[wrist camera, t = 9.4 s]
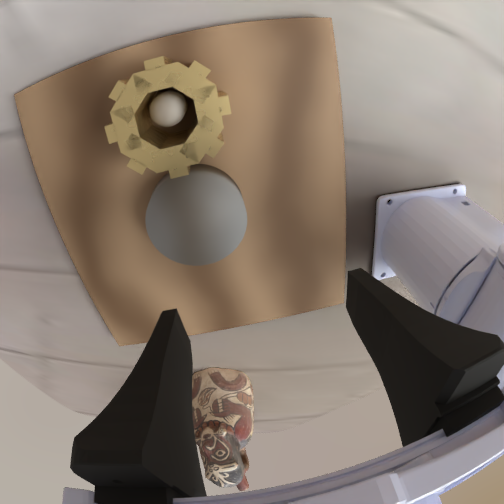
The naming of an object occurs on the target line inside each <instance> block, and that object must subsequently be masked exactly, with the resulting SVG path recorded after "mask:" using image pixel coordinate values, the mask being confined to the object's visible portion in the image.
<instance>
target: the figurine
mask: <svg viewBox="0 0 504 504" xmlns="http://www.w3.org/2000/svg"><path fill="white" fill-rule="evenodd" d="M192 414H193V424H194V432H195V439H196V444H197V445H198V446H199V449H200V454H201V458H202V460H203V464H204V468H205V476H206V478H207V479H209V480H210V481H212V482H213V483H214V484H216V485H218V486H220V487H223V488H224V487H232V486H237V488H238V489H239V490H240V491H245V490H247V489H248V488H249V484H248V482H247V479H246V476H245V472H246V471H247V470H248V468H249V461H248V457H247V455H246V450H245V446H246V445H247V444H248V442H249V441H250V438H251V436H252V433H253V425H254V404H253V389H252V385H251V382H250V380H249V378H248V376H247V375H246V374H245V373H243V372H241V371H236V370H233V369H221V368H216V367H210V368H207V369H205V370H202V371H198V372H196V373H194V375H193V376H192Z"/></svg>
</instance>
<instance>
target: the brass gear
mask: <svg viewBox="0 0 504 504" xmlns="http://www.w3.org/2000/svg"><path fill="white" fill-rule="evenodd" d="M144 66H145V70H144V71H141V72H137V73H134V74H133V75H132V76H131V78H130V79H126V80H118V82H117V83H116V85H115V87H114V88H113V90H112V92H111V94H110V95H109V98H111V99H113V100H115V101H116V103H115V104H114V106H113V108H112V110H111V111H110V114H111V118H112V122H111V123H109V124H108V125H106V126H104V127H105V131H106V135H107V138H108V142H109V144H111V143H114V142H117V141H118V145H119V148H120V152H121V153H122V154H124V155H126V156H127V157H129V158H131V159H130V161H129V163H128V164H127V167H129V168H131V169H132V170H134V171H136V172H138V173H140V174H141V175H142V174H143V173H144V171H145V169H146V168H149V169H150V170H152V171H154V172H156V173H160V172H164V171H168V170H169V174H170V178H171V179H172V178H177V177H181V176H185V175H189V169H190V165H194V164H199V162H200V161H201V159H202V158H203V157H204V155H205V154H207V155H209V156H211V157H212V158H214V157H215V156H216V154H217V153H218V151H219V150H220V149H221V147H222V146H223V144H224V139H223V136H222V133H221V131H222V130H223V128H224V126H223V120H222V116H223V115H229V114H231V109H230V103H229V97H228V95H227V94H226V93H225V92H224V91H221V92H217V87H216V84H214V83H213V82H211V81H210V80H208V79H207V78H206V77H207V75H208V74H209V73H210V71H211V70H210V69H208V68H206V67H205V66H203V65H202V64H200V63H198V62H197V61H195V60H194V62H193V63H192V64H191V66H190V67H189V68H188V67H187V66H185V65H184V64H182V63H180V62H175V63H172V60H171V59H169V58H167V57H164V56H161V57H157V58H153V59H150V60H146V61H144ZM169 87H174V88H175V89H177V90H179V91H180V92H182V93H184V94H185V95H187V96H189V97H190V98H192V99H194V104H195V109H196V114H197V117H196V119H195V120H194V122H193V123H192V125H191V126H190V128H189V129H187V130H183V131H179V132H174V133H170V134H169V133H167V132H165V131H164V130H162V129H160V128H158V127H157V126H155V125H153V124H152V119H151V115H150V111H149V104H150V102H151V101H152V99H153V98H154V96H155V95H156V93H157V92H158V90H161V89H165V88H169Z"/></svg>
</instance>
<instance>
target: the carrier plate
mask: <svg viewBox="0 0 504 504" xmlns="http://www.w3.org/2000/svg"><path fill="white" fill-rule="evenodd" d="M161 56H164V57H167V58H169V59H171V60H172V63H175V62H180V63H182V64H184V65H185V66H187V67H188V68H189V67H190V66H191V64H192V63H193V62H194V60H195V61H197V62H198V63H200V64H202V65H203V66H205V67H206V68H208V69H210V70H211V71H210V73H209V74H208V75H207V77H206V78H207V79H208V80H210V81H211V82H213V83H214V84H216V87H217V92H221V91H224V92H225V93H226V94H227V95H228V97H229V103H230V109H231V114H229V115H223V116H222V120H223V126H224V128H223V130H222V131H221V133H222V136H223V139H224V144H223V146H222V147H221V149H220V150H219V151H218V153H217V154H216V156H215V157H214V158H212V157H211V156H209V155H207V154H205V155H204V157H203V158H202V159H201V161H200V162H199V164H194V165H190V169H189V175H185V176H181V177H177V178H172V179H171V178H170V174H169V170H168V171H164V172H160V173H156V172H154V171H152V170H150V169H149V168H146V169H145V171H144V173H143V174H142V175H141V174H140V173H138V172H136V171H134V170H132V169H131V168H129V167H127V164H128V163H129V161H130V159H131V158H129V157H127V156H126V155H124V154H122V153H121V152H120V148H119V145H118V141H117V142H114V143H111V144H109V142H108V138H107V135H106V131H105V127H104V126H106V125H108V124H109V123H111V122H112V118H111V114H110V111H111V110H112V108H113V106H114V104H115V103H116V101H115V100H113V99H111V98H109V95H110V94H111V92H112V90H113V88H114V87H115V85H116V83H117V82H118V80H126V79H130V78H131V76H132V75H133V74H134V73H137V72H141V71H144V70H145V66H144V61H146V60H150V59H153V58H157V57H161ZM14 97H15V101H16V105H17V109H18V113H19V117H20V121H21V125H22V129H23V132H24V136H25V139H26V143H27V146H28V149H29V153H30V156H31V159H32V162H33V165H34V168H35V171H36V174H37V177H38V180H39V182H40V185H41V188H42V191H43V193H44V196H45V199H46V201H47V204H48V206H49V209H50V211H51V214H52V216H53V219H54V221H55V223H56V226H57V228H58V230H59V233H60V235H61V237H62V240H63V242H64V244H65V246H66V248H67V251H68V253H69V255H70V257H71V259H72V261H73V263H74V265H75V267H76V269H77V271H78V273H79V275H80V277H81V279H82V281H83V283H84V285H85V287H86V289H87V291H88V293H89V295H90V296H91V298H92V300H93V302H94V304H95V306H96V307H97V309H98V311H99V313H100V315H101V316H102V318H103V320H104V322H105V323H106V325H107V327H108V328H109V330H110V332H111V333H112V335H113V337H114V338H115V340H116V342H117V343H118V345H119V346H124V345H132V344H139V343H146V342H148V341H149V339H150V337H151V334H152V332H153V330H154V328H155V326H156V323H157V321H158V319H159V317H160V314H161V313H162V311H165V310H170V309H176V308H177V311H178V313H179V315H180V318H181V320H182V323H183V325H184V328H185V330H186V332H187V335H188V336H190V335H196V334H202V333H207V332H213V331H218V330H224V329H229V328H234V327H239V326H244V325H249V324H254V323H259V322H264V321H268V320H273V319H278V318H282V317H287V316H291V315H296V314H300V313H304V312H309V311H313V310H317V309H321V308H325V307H330V306H334V305H338V304H342V303H344V288H345V261H346V179H345V152H344V133H343V118H342V105H341V93H340V83H339V73H338V64H337V55H336V47H335V40H334V32H333V25H332V19H331V18H287V19H272V20H260V21H250V22H242V23H234V24H227V25H220V26H214V27H208V28H203V29H197V30H192V31H187V32H183V33H178V34H174V35H169V36H165V37H161V38H157V39H154V40H150V41H146V42H143V43H139V44H136V45H132V46H129V47H126V48H123V49H120V50H116V51H113V52H111V53H108V54H105V55H102V56H99V57H96V58H94V59H91V60H88V61H86V62H83V63H81V64H78V65H76V66H73V67H71V68H69V69H66V70H64V71H62V72H59V73H57V74H55V75H53V76H51V77H48V78H46V79H44V80H42V81H40V82H38V83H36V84H34V85H32V86H30V87H28V88H26V89H24V90H22V91H20V92H18V93H17V94H15V95H14ZM149 111H150V115H151V119H152V124H153V125H155V126H157V127H158V128H160V129H162V130H164V131H165V132H167V133H169V134H170V133H174V132H179V131H183V130H187V129H189V128H190V126H191V125H192V123H193V122H194V120H195V119H196V117H197V114H196V109H195V104H194V99H192V98H190V97H189V96H187V95H185V94H184V93H182V92H180V91H179V90H177V89H175V88H174V87H169V88H165V89H161V90H158V92H157V93H156V95H155V96H154V98H153V99H152V101H151V102H150V104H149Z"/></svg>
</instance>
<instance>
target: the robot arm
mask: <svg viewBox="0 0 504 504" xmlns="http://www.w3.org/2000/svg"><path fill="white" fill-rule="evenodd" d="M453 190H454V191H453ZM465 193H466V186H465V185H463V184H455V185H448V186H441V187H434V188H427V189H421V190H414V191H408V192H401V193H395V194H389V195H383V196H380V197H379V198H378V199H377V205H376V226H375V242H374V255H373V266H372V275H370V274H369V273H367V272H366V271H364V270H363V269H362V268H360V269H356V270H352V271H348V282H347V300H346V308H347V311H348V313H349V316H350V318H351V321H352V323H353V325H354V327H355V329H356V331H357V333H358V335H359V336H360V338H361V340H362V342H363V344H364V345H365V347H366V349H367V351H368V353H369V354H370V356H371V358H372V360H373V362H374V363H375V365H376V367H377V369H378V371H379V374H380V376H381V379H382V381H383V384H384V386H385V389H386V392H387V394H388V397H389V400H390V403H391V406H392V409H393V412H394V415H395V418H396V422H397V425H398V429H399V433H400V437H401V441H402V445H403V447H402V448H400V449H397V450H395V451H393V452H390V453H388V454H385V455H382V456H380V457H378V458H375V459H372V460H369V461H367V462H364V463H361V464H358V465H355V466H352V467H349V468H346V469H342V470H339V471H336V472H333V473H330V474H326V475H322V476H318V477H315V478H311V479H307V480H303V481H299V482H294V483H290V484H286V485H281V486H276V487H271V488H265V489H260V490H254V491H248V492H241V493H233V494H226V495H216V496H207V495H206V491H205V487H204V483H203V479H202V474H201V469H200V463H199V458H198V452H197V446H196V439H195V432H194V424H193V414H192V353H191V344H190V339H189V337H188V335H187V332H186V330H185V328H184V325H183V323H182V320H181V318H180V315H179V313H178V311H177V308H176V309H170V310H165V311H162V313H161V314H160V317H159V319H158V321H157V323H156V326H155V328H154V330H153V332H152V334H151V337H150V339H149V341H148V343H147V345H146V347H145V349H144V351H143V353H142V355H141V356H140V358H139V360H138V362H137V364H136V365H135V367H134V369H133V371H132V372H131V374H130V375H129V377H128V379H127V380H126V381H125V383H124V384H123V386H122V387H121V389H120V390H119V391H118V393H117V394H116V395H115V397H114V398H113V399H112V400H111V402H110V403H109V404H108V405H107V406H106V408H105V409H104V410H103V411H102V412H101V413H100V414H99V415H98V416H97V417H96V418H95V419H94V420H93V421H92V422H91V423H90V424H89V425H88V426H87V427H86V428H85V429H84V430H82V431H81V432H80V433H79V434H78V435H77V436H76V437H75V438H74V442H73V447H72V456H71V465H70V468H71V469H72V471H73V472H74V473H75V474H77V475H78V476H80V477H81V478H83V479H85V480H86V481H88V482H90V483H91V484H93V485H95V492H93V491H89V490H84V489H75V488H68V487H65V488H64V491H63V504H442V502H441V500H440V498H439V495H441V494H442V493H444V492H446V491H448V490H450V489H451V488H453V487H455V486H456V485H458V484H460V483H461V482H463V481H465V480H466V479H468V478H469V477H471V476H473V475H474V474H476V473H477V472H479V471H480V470H482V469H483V468H485V467H486V466H488V465H489V464H490V463H492V462H493V461H495V460H496V459H497V458H499V457H500V456H502V455H503V454H504V223H502V222H501V221H500V220H498V219H497V218H496V217H494V216H493V215H492V214H490V213H489V212H488V211H486V210H485V209H483V208H482V207H481V206H479V205H478V204H476V203H475V202H473V201H472V200H471V199H469V198H468V197H466V196H465ZM389 199H390V202H389V203H387V201H388V200H389ZM382 273H383V274H382ZM381 274H382V275H381ZM392 276H397V277H398V278H399V279H400V281H401V282H402V283H403V285H404V286H405V287H406V289H407V290H408V291H409V292H410V294H411V295H412V296H413V298H414V299H415V300H416V302H417V303H418V304H419V306H420V307H419V306H417V305H415V304H414V303H412V302H410V301H409V300H407V299H405V298H404V297H402V296H401V295H399V294H398V293H396V292H395V291H393V290H392V289H390V288H389V287H387V286H386V285H384V284H383V283H382V282H380V281H379V280H381V279H385V278H389V277H392ZM393 471H394V472H393ZM390 472H391V473H390Z"/></svg>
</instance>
